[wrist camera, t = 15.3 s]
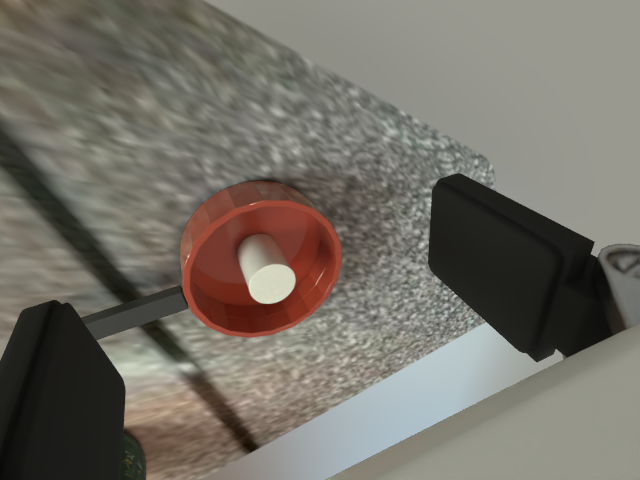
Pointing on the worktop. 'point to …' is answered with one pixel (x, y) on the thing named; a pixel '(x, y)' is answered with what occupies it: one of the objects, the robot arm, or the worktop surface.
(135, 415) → the worktop surface
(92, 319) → the pan handle
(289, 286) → the pale grey cylinder
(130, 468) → the coffee jar
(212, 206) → the pan
